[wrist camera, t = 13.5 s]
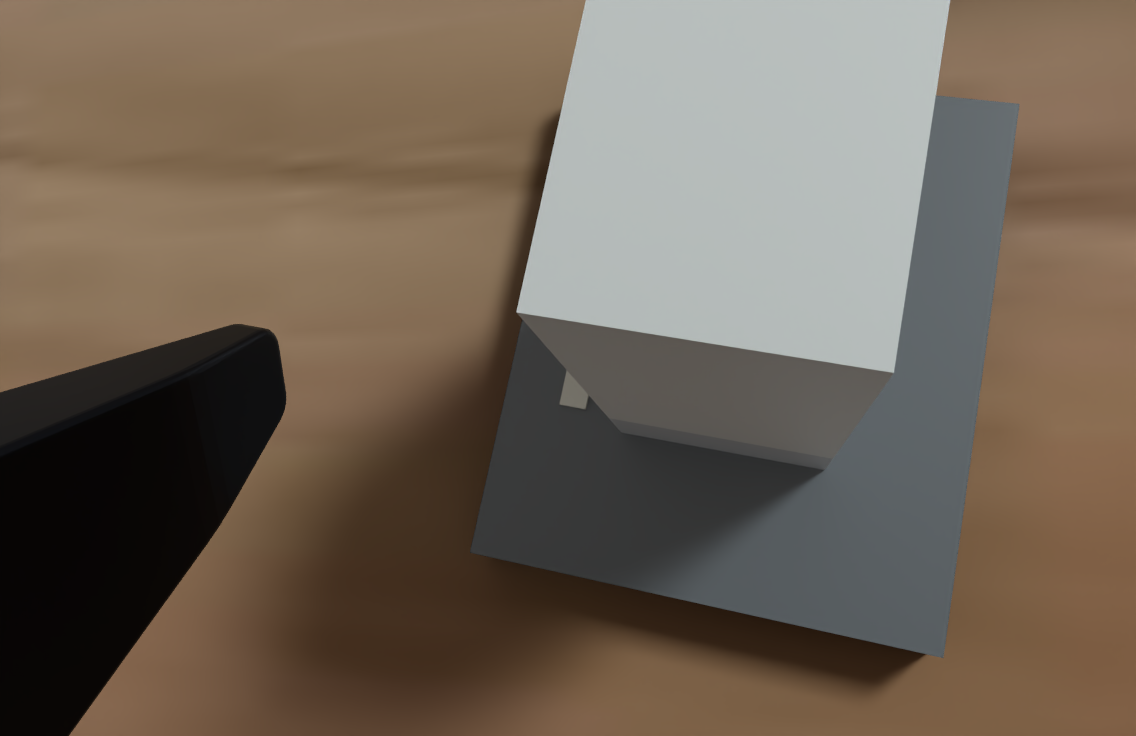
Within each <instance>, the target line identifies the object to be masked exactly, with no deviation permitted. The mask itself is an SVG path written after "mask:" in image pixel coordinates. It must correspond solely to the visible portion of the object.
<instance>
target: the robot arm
mask: <svg viewBox="0 0 1136 736" xmlns="http://www.w3.org/2000/svg"><path fill="white" fill-rule="evenodd" d="M285 405H286V390H285V383H284V377H283V370H282V364H281V357H280V350H279V345H278V341H277V338H276V336H275V335H274V333H272V332H271V331H270V330H268V329H265V328H260V327H254V326H248V325H243V324H234V325H229V326H226V327H223V328H219V329H216V330H212V331H209V332H205V333H202V334H199V335H195V336H192V337H188V338H185V339H181V340H178V341H175V342H171V343H168V344H164V345H161V346H158V347H154V348H151V349H147V350H144V351H140V352H137V353H134V354H130V355H127V356H123V357H120V358H116V359H113V360H110V361H106V362H103V363H99V364H96V365H92V366H89V367H86V368H82V369H79V370H75V371H72V372H68V373H65V374H62V375H58V376H55V377H51V378H48V379H45V380H41V381H38V382H34V383H31V384H27V385H24V386H21V387H17V388H14V389H10V390H7V391H3V392H0V736H69V735H70V734H71V732H72V731H73V729H74V728H75V727H76V725H77V724H78V722H79V721H80V720H81V718H82V717H83V716H84V714H85V713H86V711H87V710H88V709H89V707H90V706H91V704H92V703H93V702H94V700H95V699H96V697H97V696H98V695H99V693H100V692H101V691H102V689H103V688H104V686H105V685H106V684H107V682H108V681H109V679H110V678H111V677H112V675H113V674H114V673H115V671H116V670H117V668H118V667H119V666H120V664H121V663H122V661H123V660H124V659H125V657H126V656H127V655H128V653H129V652H130V650H131V649H132V648H133V646H134V645H135V643H136V642H137V641H138V639H139V638H140V636H141V635H142V634H143V632H144V631H145V630H146V628H147V627H148V625H149V624H150V623H151V621H152V620H153V618H154V617H155V616H156V614H157V613H158V612H159V610H160V609H161V607H162V606H163V605H164V603H165V602H166V600H167V599H168V598H169V596H170V595H171V593H172V592H173V591H174V589H175V588H176V587H177V585H178V584H179V582H180V581H181V580H182V578H183V577H184V575H185V574H186V573H187V571H188V570H189V569H190V567H191V566H192V564H193V563H194V562H195V560H196V559H197V557H198V556H199V555H200V553H201V552H202V550H203V549H204V548H205V546H206V545H207V544H208V542H209V541H210V539H211V538H212V536H213V535H214V533H215V532H216V530H217V529H218V527H219V526H220V524H221V523H222V521H223V519H224V518H225V516H226V514H227V513H228V511H229V510H230V508H231V506H232V504H233V503H234V501H235V499H236V497H237V496H238V494H239V492H240V490H241V489H242V487H243V485H244V483H245V482H246V480H247V478H248V476H249V474H250V473H251V471H252V469H253V467H254V466H255V464H256V462H257V460H258V459H259V457H260V455H261V453H262V452H263V450H264V448H265V446H266V445H267V443H268V441H269V439H270V437H271V436H272V434H273V432H274V430H275V429H276V427H277V425H278V423H279V422H280V420H281V418H282V416H283V413H284V410H285Z"/></svg>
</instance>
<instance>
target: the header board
mask: <svg viewBox="0 0 1136 736" xmlns="http://www.w3.org/2000/svg"><path fill="white" fill-rule="evenodd" d="M1018 111H1019V104H1014V103H1004V102H995V101H985V100H975V99H965V98H955V97H945V96H936V97H935V104H934V110H933V117H932V124H931V130H930V137H929V144H928V150H927V157H926V163H925V170H924V177H923V183H922V190H921V196H920V203H919V210H918V216H917V223H916V230H915V236H914V243H913V249H912V256H911V263H910V269H909V276H908V283H907V289H906V296H905V302H904V309H903V316H902V322H901V329H900V336H899V342H898V349H897V355H896V362H895V369H894V373H893V375H892V376H891V378H890V379H889V380H888V382H887V383H886V385H885V386H884V387H883V389H882V390H881V392H880V393H879V395H878V396H877V397H876V399H875V400H874V402H873V403H872V404H871V406H870V407H869V409H868V410H867V411H866V413H865V414H864V416H863V417H862V418H861V420H860V421H859V423H858V424H857V426H856V427H855V428H854V430H853V431H852V433H851V434H850V435H849V437H848V438H847V440H846V441H845V442H844V444H843V445H842V447H841V448H840V449H839V451H838V452H837V454H836V455H835V456H834V458H833V459H832V461H831V462H830V464H829V465H828V466H827V468H826V469H825V470H822V469H816V468H811V467H805V466H800V465H795V464H789V463H784V462H778V461H773V460H767V459H762V458H757V457H751V456H746V455H740V454H735V453H729V452H724V451H719V450H713V449H708V448H702V447H697V446H691V445H686V444H681V443H675V442H670V441H664V440H659V439H653V438H648V437H643V436H637V435H632V434H626V433H621V432H620V430H619V429H618V428H617V427H616V426H615V425H614V424H613V422H612V421H611V420H610V419H609V418H608V417H607V416H606V414H605V413H604V412H603V411H602V410H601V409H600V408H599V406H598V405H597V404H596V403H595V402H594V401H593V400H592V398H591V397H590V396H589V395H588V394H587V393H586V392H585V390H584V389H583V388H582V387H581V386H580V385H579V384H578V382H577V381H576V380H575V379H574V378H573V377H572V376H571V374H570V373H569V372H568V371H567V370H566V369H565V368H564V366H563V365H562V364H561V363H560V362H559V361H558V360H557V358H556V357H555V356H554V355H553V354H552V353H551V351H550V350H549V349H548V348H547V347H546V346H545V345H544V343H543V342H542V341H541V340H540V339H539V338H538V337H537V335H536V334H535V333H534V332H533V331H532V330H531V329H530V327H529V326H528V325H527V324H526V323H525V322H524V321H523V319H522V323H521V327H520V332H519V336H518V341H517V345H516V350H515V354H514V359H513V363H512V368H511V372H510V376H509V381H508V385H507V390H506V394H505V399H504V403H503V408H502V412H501V416H500V421H499V425H498V430H497V434H496V439H495V443H494V448H493V452H492V457H491V461H490V465H489V470H488V474H487V479H486V483H485V488H484V492H483V497H482V501H481V505H480V510H479V514H478V519H477V523H476V528H475V532H474V537H473V541H472V546H471V550H470V553H474V554H478V555H483V556H487V557H492V558H496V559H501V560H505V561H510V562H514V563H519V564H523V565H528V566H532V567H537V568H541V569H546V570H550V571H555V572H559V573H564V574H568V575H573V576H577V577H582V578H586V579H591V580H595V581H600V582H604V583H609V584H613V585H618V586H622V587H627V588H631V589H636V590H640V591H645V592H649V593H654V594H658V595H663V596H667V597H672V598H676V599H681V600H685V601H690V602H694V603H699V604H703V605H708V606H712V607H717V608H721V609H726V610H730V611H735V612H739V613H744V614H748V615H753V616H757V617H762V618H766V619H771V620H775V621H780V622H784V623H789V624H793V625H798V626H802V627H807V628H811V629H816V630H820V631H825V632H829V633H834V634H838V635H842V636H847V637H851V638H856V639H860V640H865V641H869V642H874V643H878V644H883V645H887V646H892V647H896V648H901V649H905V650H910V651H914V652H919V653H923V654H928V655H932V656H937V657H941V658H943V656H944V649H945V642H946V634H947V627H948V620H949V613H950V605H951V598H952V591H953V584H954V576H955V569H956V562H957V554H958V547H959V540H960V533H961V525H962V518H963V511H964V504H965V496H966V489H967V482H968V474H969V467H970V460H971V453H972V445H973V438H974V431H975V424H976V416H977V409H978V402H979V394H980V387H981V380H982V373H983V365H984V358H985V351H986V344H987V336H988V329H989V322H990V314H991V307H992V300H993V293H994V285H995V278H996V271H997V264H998V256H999V249H1000V242H1001V234H1002V227H1003V220H1004V213H1005V205H1006V198H1007V191H1008V184H1009V176H1010V169H1011V162H1012V154H1013V147H1014V140H1015V133H1016V125H1017V118H1018Z"/></svg>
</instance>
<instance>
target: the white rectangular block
mask: <svg viewBox="0 0 1136 736" xmlns="http://www.w3.org/2000/svg"><path fill="white" fill-rule="evenodd" d="M949 4H950V0H586V3H585V7H584V12H583V16H582V20H581V25H580V29H579V34H578V38H577V43H576V47H575V52H574V56H573V61H572V65H571V70H570V74H569V79H568V83H567V88H566V92H565V97H564V101H563V106H562V110H561V114H560V119H559V123H558V128H557V132H556V137H555V141H554V146H553V150H552V155H551V159H550V164H549V168H548V173H547V177H546V182H545V186H544V191H543V195H542V199H541V204H540V208H539V213H538V217H537V222H536V226H535V231H534V235H533V240H532V244H531V249H530V253H529V258H528V262H527V267H526V271H525V276H524V280H523V285H522V289H521V293H520V298H519V302H518V307H517V311H516V313H517V314H518V315H519V316H520V317H521V318H522V319H523V321H524V322H525V323H526V324H527V325H528V326H529V327H530V329H531V330H532V331H533V332H534V333H535V334H536V335H537V337H538V338H539V339H540V340H541V341H542V342H543V343H544V345H545V346H546V347H547V348H548V349H549V350H550V351H551V353H552V354H553V355H554V356H555V357H556V358H557V360H558V361H559V362H560V363H561V364H562V365H563V366H564V368H565V369H566V370H567V371H568V372H569V373H570V374H571V376H572V377H573V378H574V379H575V380H576V381H577V382H578V384H579V385H580V386H581V387H582V388H583V389H584V390H585V392H586V393H587V394H588V395H589V396H590V397H591V398H592V400H593V401H594V402H595V403H596V404H597V405H598V406H599V408H600V409H601V410H602V411H603V412H604V413H605V414H606V416H607V417H608V418H609V419H610V420H611V421H612V422H613V424H614V425H615V426H616V427H617V428H618V429H619V430H620V432H621V433H626V434H632V435H637V436H643V437H648V438H653V439H659V440H664V441H670V442H675V443H681V444H686V445H691V446H697V447H702V448H708V449H713V450H719V451H724V452H729V453H735V454H740V455H746V456H751V457H757V458H762V459H767V460H773V461H778V462H784V463H789V464H795V465H800V466H805V467H811V468H816V469H822V470H825V469H826V468H827V466H828V465H829V464H830V462H831V461H832V459H833V458H834V456H835V455H836V454H837V452H838V451H839V449H840V448H841V447H842V445H843V444H844V442H845V441H846V440H847V438H848V437H849V435H850V434H851V433H852V431H853V430H854V428H855V427H856V426H857V424H858V423H859V421H860V420H861V418H862V417H863V416H864V414H865V413H866V411H867V410H868V409H869V407H870V406H871V404H872V403H873V402H874V400H875V399H876V397H877V396H878V395H879V393H880V392H881V390H882V389H883V387H884V386H885V385H886V383H887V382H888V380H889V379H890V378H891V376H892V375H893V373H894V369H895V362H896V355H897V349H898V342H899V336H900V329H901V322H902V316H903V309H904V302H905V296H906V289H907V283H908V276H909V269H910V263H911V256H912V249H913V243H914V236H915V230H916V223H917V216H918V210H919V203H920V196H921V190H922V183H923V177H924V170H925V163H926V157H927V150H928V144H929V137H930V130H931V124H932V117H933V110H934V104H935V97H936V91H937V84H938V77H939V71H940V64H941V57H942V51H943V44H944V38H945V31H946V24H947V18H948V11H949Z"/></svg>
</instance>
